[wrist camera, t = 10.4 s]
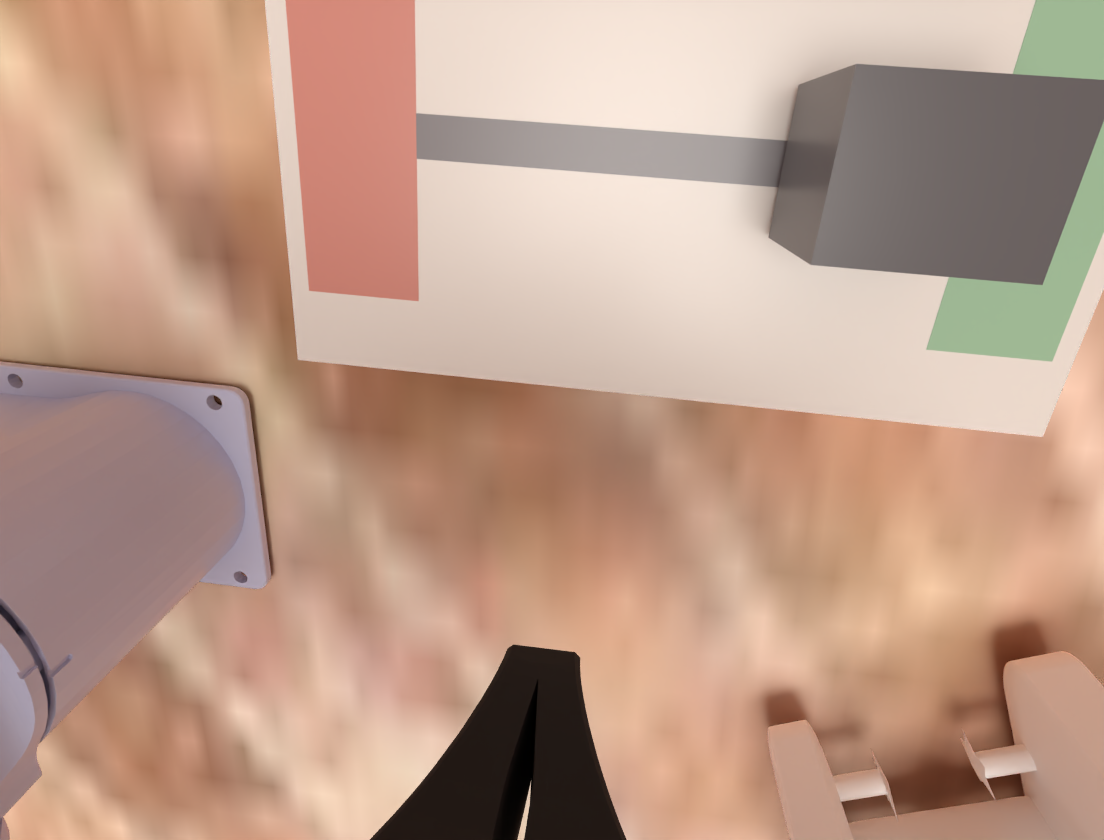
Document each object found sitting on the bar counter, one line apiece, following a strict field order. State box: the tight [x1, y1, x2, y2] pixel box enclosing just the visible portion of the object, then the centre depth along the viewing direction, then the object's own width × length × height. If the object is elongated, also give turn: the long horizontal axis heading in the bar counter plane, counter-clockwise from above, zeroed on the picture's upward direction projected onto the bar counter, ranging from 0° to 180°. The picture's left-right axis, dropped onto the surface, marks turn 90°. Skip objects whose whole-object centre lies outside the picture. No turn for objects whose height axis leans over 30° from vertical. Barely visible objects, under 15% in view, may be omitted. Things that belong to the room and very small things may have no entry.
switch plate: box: [265, 0, 1104, 437], centre depth 16 cm, size 20×12×2 cm, turn 86°
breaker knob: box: [768, 64, 1104, 285], centre depth 13 cm, size 4×3×4 cm
